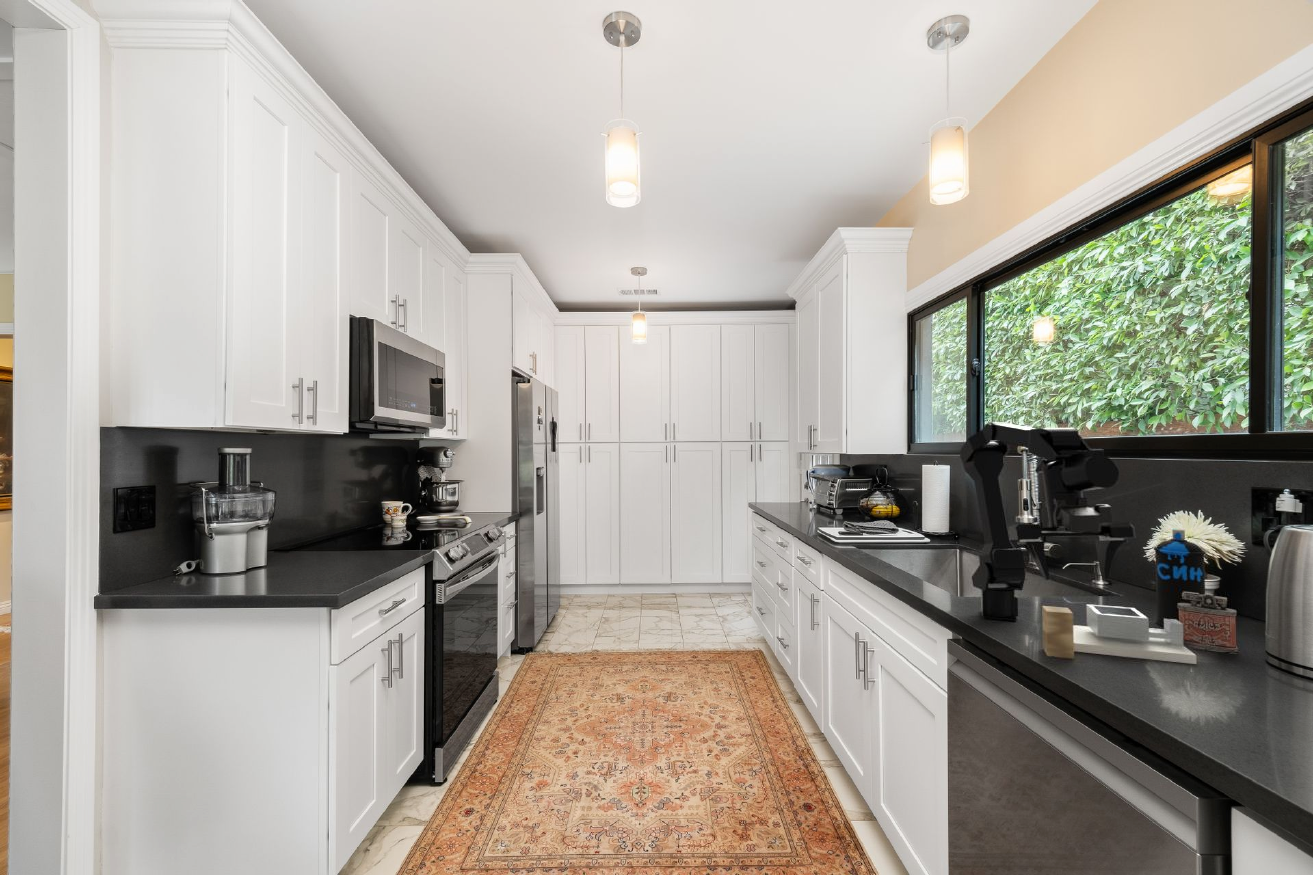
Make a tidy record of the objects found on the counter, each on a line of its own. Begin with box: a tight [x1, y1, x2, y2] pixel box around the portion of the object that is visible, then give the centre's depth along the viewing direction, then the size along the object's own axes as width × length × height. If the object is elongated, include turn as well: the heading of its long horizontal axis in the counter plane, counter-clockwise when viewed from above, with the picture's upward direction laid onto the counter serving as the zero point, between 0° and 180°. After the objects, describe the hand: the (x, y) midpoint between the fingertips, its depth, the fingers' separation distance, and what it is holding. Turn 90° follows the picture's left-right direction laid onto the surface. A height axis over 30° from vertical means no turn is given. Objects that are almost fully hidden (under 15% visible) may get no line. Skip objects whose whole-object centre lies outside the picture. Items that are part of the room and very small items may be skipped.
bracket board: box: [1073, 624, 1197, 665], centre depth 112 cm, size 19×13×2 cm
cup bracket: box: [1086, 604, 1184, 646], centre depth 111 cm, size 13×8×5 cm, turn 67°
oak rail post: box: [1041, 605, 1075, 660], centre depth 108 cm, size 4×4×8 cm
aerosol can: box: [1153, 528, 1207, 627], centre depth 124 cm, size 8×8×20 cm
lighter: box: [1178, 592, 1239, 654], centre depth 111 cm, size 8×3×10 cm, turn 47°
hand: (1075, 579), depth 108 cm, fingers open, 9 cm apart
